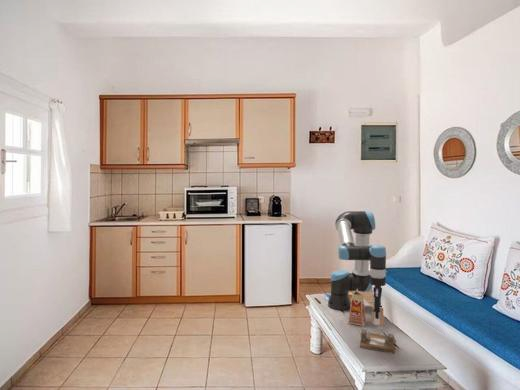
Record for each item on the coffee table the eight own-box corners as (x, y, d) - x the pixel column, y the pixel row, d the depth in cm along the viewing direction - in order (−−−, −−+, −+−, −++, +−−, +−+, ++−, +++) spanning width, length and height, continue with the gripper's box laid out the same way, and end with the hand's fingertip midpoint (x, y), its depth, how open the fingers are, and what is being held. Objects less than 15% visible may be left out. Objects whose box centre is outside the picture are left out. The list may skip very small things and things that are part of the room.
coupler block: (372, 324, 169) (372, 310, 169) (373, 320, 173) (373, 306, 173) (382, 325, 167) (382, 311, 167) (383, 321, 172) (383, 308, 171)
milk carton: (364, 326, 194) (364, 291, 193) (347, 323, 198) (347, 289, 197) (366, 320, 202) (366, 287, 201) (350, 317, 206) (350, 285, 205)
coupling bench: (362, 334, 183) (362, 323, 183) (394, 339, 177) (394, 328, 177) (359, 347, 168) (359, 335, 168) (393, 353, 162) (394, 341, 162)
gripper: (384, 282, 160) (384, 330, 160) (386, 273, 176) (386, 317, 177) (368, 280, 163) (368, 328, 163) (371, 271, 179) (371, 314, 180)
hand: (377, 322), depth 170 cm, fingers closed on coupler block, 5 cm apart
